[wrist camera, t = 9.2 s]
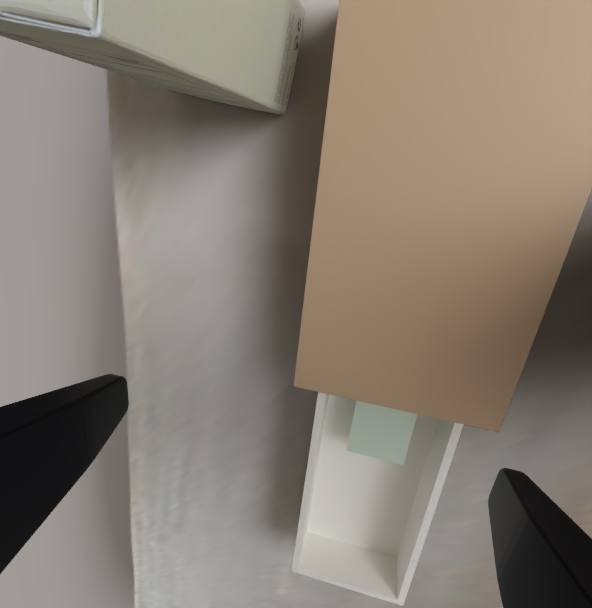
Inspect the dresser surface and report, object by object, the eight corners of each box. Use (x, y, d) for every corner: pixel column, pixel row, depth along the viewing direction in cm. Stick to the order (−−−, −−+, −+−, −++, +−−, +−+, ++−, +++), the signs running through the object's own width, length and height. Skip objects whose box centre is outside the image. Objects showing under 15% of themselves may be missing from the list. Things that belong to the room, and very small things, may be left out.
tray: (467, 343, 19) (480, 374, 16) (401, 557, 25) (402, 606, 22) (334, 318, 20) (325, 343, 17) (301, 528, 26) (291, 571, 23)
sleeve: (598, 13, 14) (681, -47, 10) (477, 378, 20) (498, 432, 16) (357, 3, 16) (345, -52, 12) (311, 344, 22) (293, 386, 18)
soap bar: (422, 365, 20) (425, 384, 18) (402, 441, 21) (403, 465, 20) (364, 353, 20) (362, 371, 18) (349, 429, 22) (346, 450, 20)
